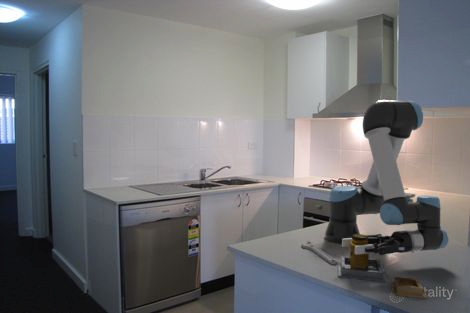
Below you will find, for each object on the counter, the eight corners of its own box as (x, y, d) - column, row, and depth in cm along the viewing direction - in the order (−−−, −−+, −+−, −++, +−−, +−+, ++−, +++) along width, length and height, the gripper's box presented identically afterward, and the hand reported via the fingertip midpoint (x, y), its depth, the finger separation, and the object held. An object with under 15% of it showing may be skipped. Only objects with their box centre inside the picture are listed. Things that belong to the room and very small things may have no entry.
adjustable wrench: (339, 265, 137) (339, 261, 137) (322, 267, 136) (322, 262, 136) (313, 244, 161) (313, 240, 161) (299, 245, 160) (299, 241, 160)
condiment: (347, 265, 134) (348, 232, 133) (372, 266, 133) (373, 233, 131) (350, 273, 127) (351, 238, 126) (376, 275, 125) (377, 240, 124)
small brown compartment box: (390, 283, 120) (390, 275, 120) (420, 286, 118) (421, 278, 118) (393, 295, 112) (394, 286, 112) (427, 298, 109) (427, 290, 109)
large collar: (338, 261, 140) (338, 254, 139) (381, 265, 136) (381, 258, 135) (338, 277, 125) (338, 269, 125) (386, 282, 121) (386, 274, 121)
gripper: (426, 261, 125) (365, 267, 119) (387, 243, 144) (333, 247, 139) (427, 239, 124) (366, 244, 118) (388, 223, 144) (334, 227, 138)
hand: (348, 246), depth 128 cm, fingers open, 7 cm apart
